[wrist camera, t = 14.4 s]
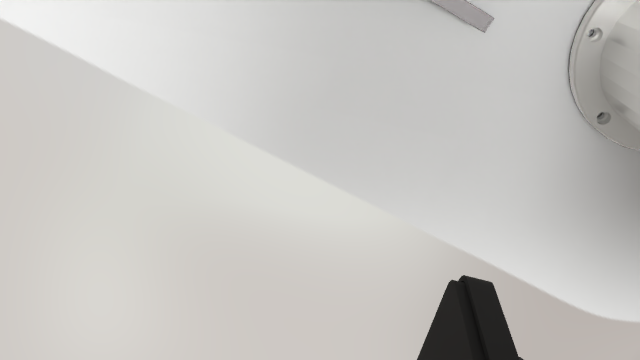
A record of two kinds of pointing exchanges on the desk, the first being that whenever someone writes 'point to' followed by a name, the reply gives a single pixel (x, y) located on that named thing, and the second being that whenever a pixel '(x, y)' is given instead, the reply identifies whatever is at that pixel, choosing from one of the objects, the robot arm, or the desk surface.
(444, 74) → the desk surface
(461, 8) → the caliper
